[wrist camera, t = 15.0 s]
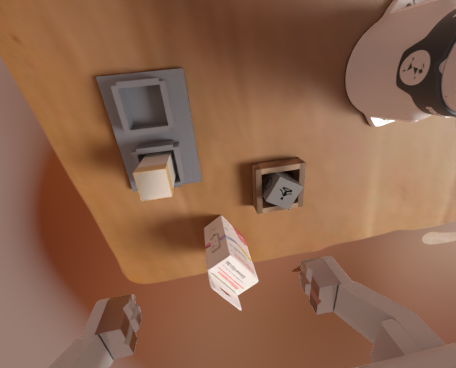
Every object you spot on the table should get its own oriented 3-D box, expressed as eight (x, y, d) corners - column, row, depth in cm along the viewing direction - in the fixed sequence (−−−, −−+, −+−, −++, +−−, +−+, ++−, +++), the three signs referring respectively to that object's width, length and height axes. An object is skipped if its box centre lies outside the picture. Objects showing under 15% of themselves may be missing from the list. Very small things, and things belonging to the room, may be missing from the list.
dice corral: (298, 157, 41) (305, 162, 38) (296, 198, 44) (302, 206, 42) (251, 164, 40) (255, 170, 37) (253, 205, 44) (257, 213, 41)
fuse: (171, 149, 35) (165, 168, 27) (176, 171, 37) (172, 196, 29) (146, 152, 35) (132, 173, 27) (152, 175, 37) (141, 201, 29)
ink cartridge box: (245, 237, 47) (266, 297, 34) (228, 250, 48) (241, 314, 35) (221, 213, 43) (233, 270, 30) (202, 227, 44) (206, 288, 31)
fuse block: (183, 68, 32) (182, 66, 28) (201, 179, 40) (202, 188, 36) (98, 76, 31) (86, 76, 27) (134, 189, 38) (128, 199, 35)
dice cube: (291, 175, 42) (303, 186, 38) (278, 196, 44) (288, 209, 39) (270, 166, 41) (280, 176, 36) (257, 188, 42) (265, 201, 38)
